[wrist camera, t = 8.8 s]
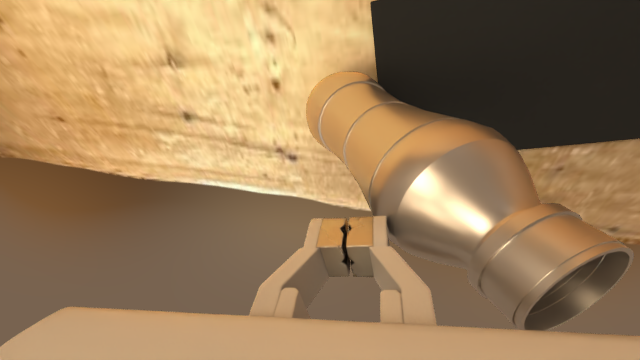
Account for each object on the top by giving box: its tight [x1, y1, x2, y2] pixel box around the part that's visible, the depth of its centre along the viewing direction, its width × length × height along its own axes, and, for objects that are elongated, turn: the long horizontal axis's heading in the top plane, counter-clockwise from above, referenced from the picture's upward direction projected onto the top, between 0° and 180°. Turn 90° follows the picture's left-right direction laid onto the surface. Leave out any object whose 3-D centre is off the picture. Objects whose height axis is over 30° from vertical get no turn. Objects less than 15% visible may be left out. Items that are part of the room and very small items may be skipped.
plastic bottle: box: [306, 72, 634, 331], centre depth 16 cm, size 6×7×20 cm
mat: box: [371, 0, 640, 150], centre depth 21 cm, size 22×14×1 cm, turn 103°
